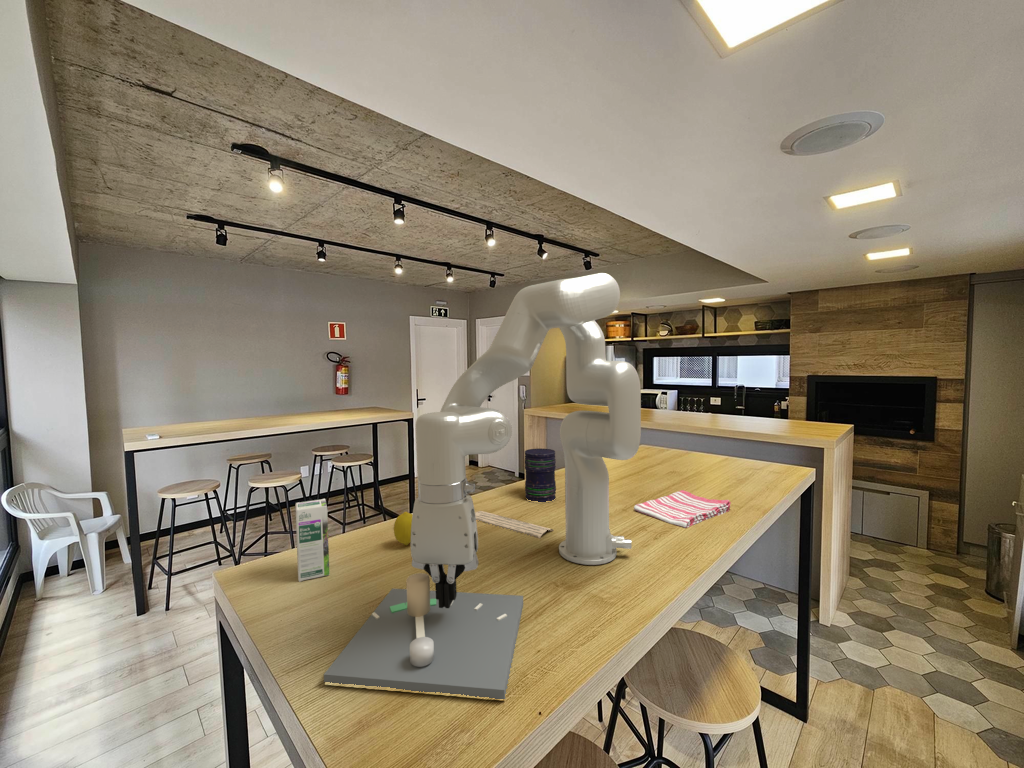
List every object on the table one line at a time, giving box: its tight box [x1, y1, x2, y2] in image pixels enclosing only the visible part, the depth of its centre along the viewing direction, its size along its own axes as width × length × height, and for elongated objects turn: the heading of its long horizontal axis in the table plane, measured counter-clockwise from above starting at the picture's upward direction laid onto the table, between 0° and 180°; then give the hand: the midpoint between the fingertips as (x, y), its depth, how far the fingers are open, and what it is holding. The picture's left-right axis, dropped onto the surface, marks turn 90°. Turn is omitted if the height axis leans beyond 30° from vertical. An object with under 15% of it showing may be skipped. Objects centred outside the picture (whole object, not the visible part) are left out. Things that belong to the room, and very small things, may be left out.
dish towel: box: [633, 489, 732, 529], centre depth 122 cm, size 17×23×4 cm
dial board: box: [323, 588, 524, 700], centre depth 65 cm, size 24×22×2 cm
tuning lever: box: [406, 572, 434, 667], centre depth 64 cm, size 15×4×6 cm, turn 14°
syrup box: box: [295, 498, 330, 583], centre depth 87 cm, size 6×6×14 cm
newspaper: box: [475, 510, 554, 539], centre depth 113 cm, size 24×7×2 cm, turn 52°
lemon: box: [393, 511, 413, 547], centre depth 100 cm, size 6×6×8 cm
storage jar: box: [524, 448, 557, 502], centre depth 135 cm, size 10×10×15 cm
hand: (446, 603), depth 69 cm, fingers closed
